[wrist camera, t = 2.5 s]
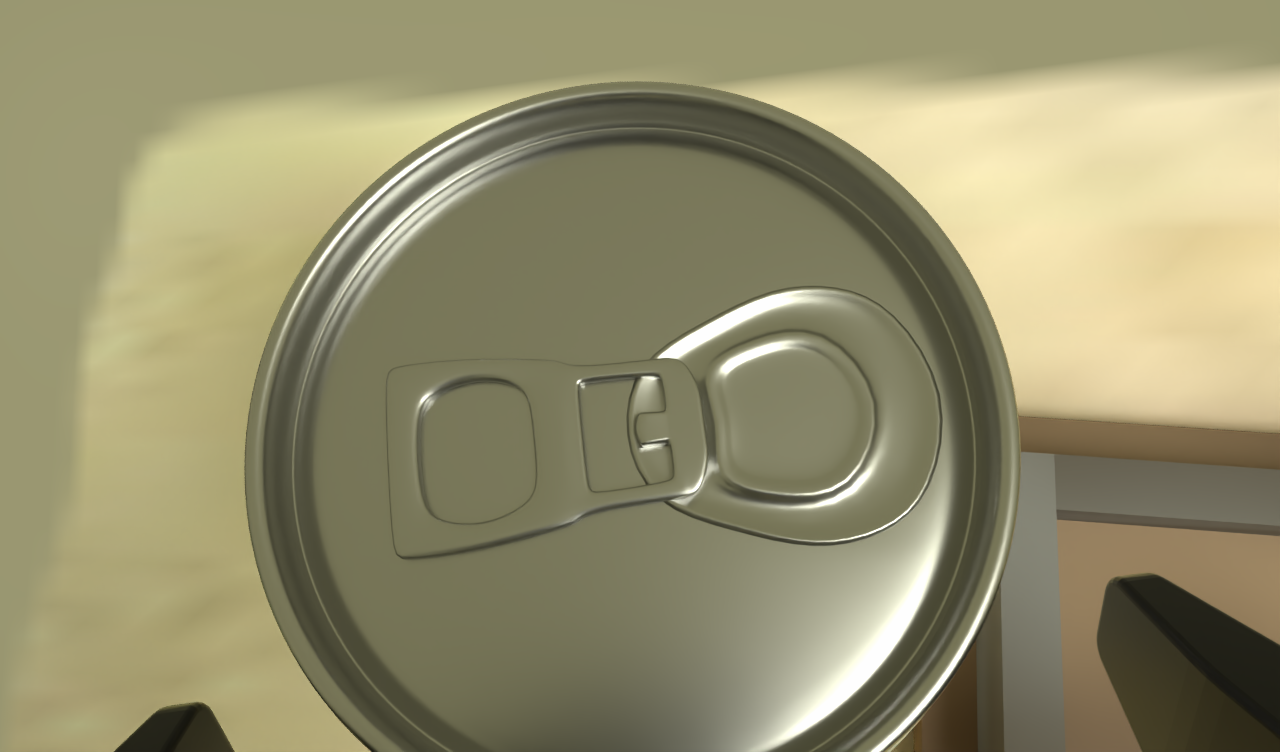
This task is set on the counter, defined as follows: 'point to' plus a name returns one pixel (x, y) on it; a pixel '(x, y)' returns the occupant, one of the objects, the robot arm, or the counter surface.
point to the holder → (1107, 574)
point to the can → (633, 439)
